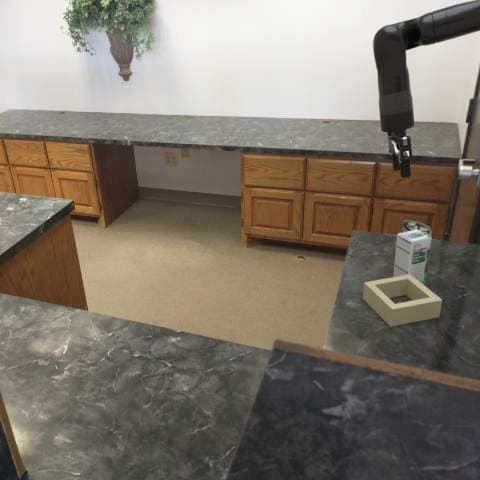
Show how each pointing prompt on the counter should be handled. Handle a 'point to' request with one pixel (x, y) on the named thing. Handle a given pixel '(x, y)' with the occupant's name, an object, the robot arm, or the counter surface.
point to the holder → (406, 312)
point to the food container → (415, 227)
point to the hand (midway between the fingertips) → (401, 173)
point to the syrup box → (412, 254)
